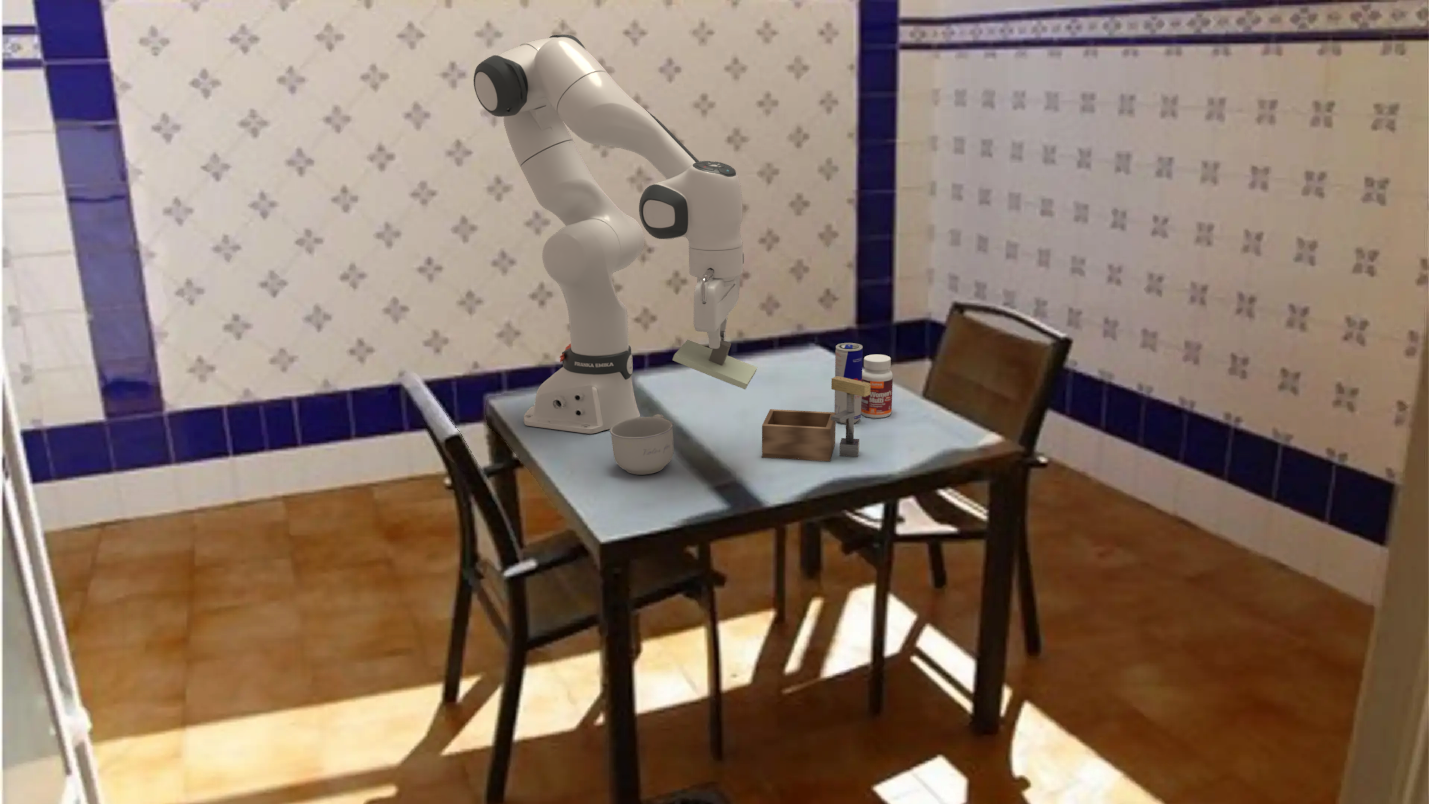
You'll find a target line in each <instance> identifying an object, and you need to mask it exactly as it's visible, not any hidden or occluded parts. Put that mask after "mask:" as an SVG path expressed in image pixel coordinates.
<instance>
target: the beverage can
mask: <svg viewBox="0 0 1429 804" xmlns="http://www.w3.org/2000/svg"><path fill="white" fill-rule="evenodd" d="M863 351H864V350H863V345H862V344H860V343H853V342H844V343H843V342H842V343H838V344H837V345H835V355H834V356H835V358H834V362H835V363H834V365H835V366H834V377H836V376H840V377H844V378H849V379H853V380H858V381H862V371H863V361H864V358H863V355H864V352H863ZM861 400H862V396H858V395H855V402H854V412H855V415H854V424H855V423H857V422H859V420H860V419H861V417H862V414H861ZM846 401H847V393H845V392H841V391H837V390H834V410H833V412H836V414H837V413H840V412H842V411H844V410H846ZM839 423H841V424H843V425H844V424H845V425H846V420H843V421H841V422H839Z"/></svg>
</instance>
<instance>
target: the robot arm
mask: <svg viewBox="0 0 1429 804" xmlns="http://www.w3.org/2000/svg"><path fill="white" fill-rule="evenodd" d="M473 88H474V92H475V95H476V98H477V99H478V102H479V103H480V105H481V106H482V107H483V108H484V109H485V110H486V111H487V112H488V113H489V114H490V115H492V116H494V117H502V118H503V125H504V129H505V132H506V136H507V138H508V141H509V145H510V147H511V149H512V152H513V155H514V157H515V159H516V161H517V163H518V165H519V168H520V169H521V171H522V173H523V175H524V177H525V179H526V181H527V183H528V185H529V187H530V189H531V191H532V192H533V195H534V197H535V199H536V200H537V202H538V203H539V205H540V206H541V207H542V208H543V209H545V210H546V211H549V212H551V213H552V214H554V215H555V216H556V217H557V218H558V219H559V220H560V221H561V222H562V223H563V224H564V227H562V228H561V229H559V230H557V231H556V232H555V233H554V234H552V235H551V236H550V237H549V238H547V240H546V242H545V243H544V245H543V248H542V255H541V256H542V257H541V258H542V264H543V267H544V268H545V271H546V273H547V274H548V275H549V276H550V278H551V279H553V281H555V282H556V283H557V284H558V286H559V288H560V289H561V292H562V294H563V295H562V296H563V298H564V301H565V304H566V308H567V312H568V322H569V337H570V343H569V344H568V345H567V346H566V347H565V349H564V351H562V352H561V355H559V363H562V367H561V368H559V369H558V370H557V371H556V372H554V373H553V374H552V375H550V377H548V378H547V379H546V380H544V381H543V383H541V384H540V386H539V387H538V389H537V391H536V394H535V398H534V404H533V405H532V406H531V407H530V408H528V409H527V410H526V412H525V413H524V415H523V424H524V425H525V426H528V427H536V428H542V429H543V428H544V429H549V430H551V429H552V430H556V431H558V430H559V431H566V432H574V433H581V434H589V435H591V434H596V433H600V432H602V431H606V430H610V428H611V427H612V426H613V425H614V424H616V423H618V422H621V421H624V420H627V419H631V418H638V417H641V414H640V411H639V408H638V404H637V402H636V397H635V393H634V392H635V391H634V387H633V380H632V375H633V371H634V369H633V365H634V364H633V355H632V348H631V346H630V344H629V343H630V341H629V320H628V319H629V318H628V317H629V315H628V313H629V312H628V308H627V306H626V305H625V303H624V302H623V301H622V300H621V299H619V296H618V294H617V292H616V289H615V286H614V282H613V275H614V273H617V272H619V271H621V270H624V269H625V268H627V267H629V266H630V265H631V264H632V263H633V262H634V261H636V259H638V258H639V256H640V255H641V253H642V252H643V249H644V246H645V234H644V230H643V227H644V229H645V230H646V232H647V233H648V234H649V235H651V237H653V238H655V239H659V240H673V239H679V238H685V239H687V241H688V266H689V267H688V268H689V270H688V271H689V272H688V273H689V275H690V276H691V277H694V278H695V277H696V281H697V283H696V284H695V287H694V293H693V327H694V330H695V332H696V331H697V332H704V333H707V338H708V348H710V349H718V348H719V347H720V345H721V340H724V341H726V337H727V336H726V331H727V330H726V329H727V325H728V316H729V315H730V313H731V312H732V311H733V310H734V309H735V307H736V306H737V305H738V301H739V298H740V287H741V284H740V283H741V275H742V274H743V273H744V262H745V254H744V246H743V244H744V243H743V242H744V241H743V240H742V238H743V237H742V236H741V225H742V221H743V197H742V196H743V195H742V186H741V181H740V177H739V175H738V172H737V171H736V169H735V168H734V167H733V166H731V165H729V164H727V163H724V162H720V161H719V162H718V161H710V160H703V161H702V160H699V159H698V158H697V157H696V156H695V155H694V154H693V153H692V152H691V151H690V150H689V149H688V148H687V147H686V146H685V145H684V144H683V143H682V141H680V140H679V139H678V138H677V137H676V136H675V135H674V133H672V132H671V131H670V130H669V129H668V128H667V126H665V125H664V123H662V122H661V121H660V120H659V119H658V118H657V117H656V116H654V114H652V113H651V112H649V111H648V110H647V109H645V108H644V107H643V106H641V105H640V104H639V103H637V101H635V100H634V99H633V98H632V97H631V96H630V95H628V93H627V92H626V91H625V90H624V89H622V87H621V86H620V85H619V84H618V83H617V82H616V81H615V79H614V78H612V76H611V75H610V74H609V73H608V71H607V70H606V69H605V67H603V66H602V65H601V63H600V62H599V61H598V60H597V59H596V58H595V57H594V56H593V55H592V54H591V53H590V52H589V51H588V50H587V48H586V46H584V44H583V43H582V42H581V40H580V39H578V38H577V37H576V36H575V35H570V34H553V35H551V36H549V37H545V38H540V39H536V40H532V41H527V42H524V43H521V44H520V45H519V46H515V47H512V48H511V49H507V50H506V51H504V52H501V53H498V55H496V54H495V55H494V54H493V55H491V56H490V57H487V58H485V59H484V60H483V61H481V62H480V63H479V64H478V65H477V66H476V67H475V70H474V73H473ZM569 130H570V131H569ZM570 132H572V133H574V134H575V135H576V136H577V137H578V138H579V139H581V141H583V142H586V143H588V144H592V145H596V146H597V145H598V146H603V147H604V146H605V147H610V148H617V149H622V150H626V151H629V152H632V153H635V154H637V155H640V156H641V157H643V158H645V159H646V160H648V162H649V163H651V165H652V166H653V167H654V168H655V169H656V170H657V171H658V172H659V173H660V175H661V176H663V177H664V178H665V180H662V181H659V182H655V183H653V184H651V185H649V186H647V187H646V188H645V189H644V191H643V192H642V194H641V197H640V199H639V203H638V213H639V218H640V223H641V224H642V226H643V227H641V225H640V223H639V222H638V221H637V220H636V218H634V217H632V216H631V215H628V214H627V213H626V212H624V211H622V209H620V208H619V207H618V206H617V205H616V203H615V202H614V201H613V200H612V199H611V198H610V197H609V196H608V194H606V192H605V191H604V190H603V188H602V187H601V186H600V185H599V184H598V182H597V180H596V179H595V178H594V176H593V174H592V173H591V171H590V169H589V167H588V165H587V163H586V162H585V160H584V158H583V156H582V154H581V152H580V151H579V148H578V146H577V145H576V142H575V140H574V139H573V136H572V135H571V134H570Z"/></svg>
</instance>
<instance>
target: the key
mask: <svg viewBox="0 0 1429 804" xmlns="http://www.w3.org/2000/svg"><path fill="white" fill-rule="evenodd" d="M830 384H831V388H830V389H831V390H833V391H835V390H837V391H841V392H845V393H847V401H846V410H844V411H842V412H840V413H837V414H835V415H833V416H831V420H833V421H836V423H840V422H841V421H843V420H846V424H845V438H846V442H854V439H855V438H854V437H855V423H854V415H855V412H854V402H855V395H858V396H863V397H865V396H868V395H870V387H871V383H867V382H862V381H858V380H853V379H849V378H844V377H840V376H836V377H835V376H834V377H832V378H831V383H830Z"/></svg>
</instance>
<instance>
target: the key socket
mask: <svg viewBox="0 0 1429 804" xmlns="http://www.w3.org/2000/svg"><path fill="white" fill-rule="evenodd" d="M839 442H840V443H839V457H850V458H851V457H853V458H858V457H859V454H860V438H854V442H846V437H845V438H843V437H841V439H840V441H839Z"/></svg>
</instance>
